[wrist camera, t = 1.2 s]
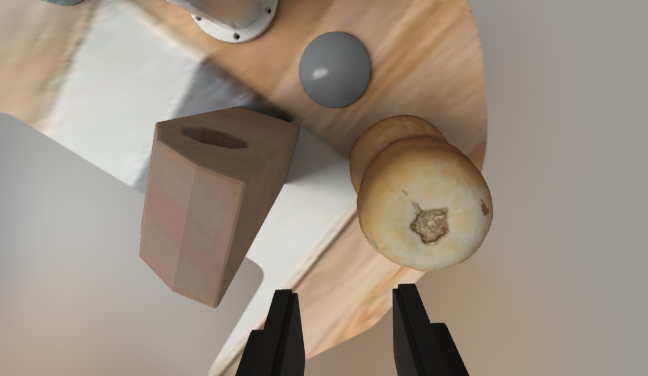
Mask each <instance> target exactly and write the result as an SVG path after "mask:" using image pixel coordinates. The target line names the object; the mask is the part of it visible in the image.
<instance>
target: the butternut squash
mask: <svg viewBox="0 0 648 376" xmlns="http://www.w3.org/2000/svg"><path fill="white" fill-rule="evenodd" d="M349 158H350V176H351V182H352V184H353V187H354V189H355V191H356V193H357V195H358V196H357V209H358V218H359V223H360V227H361V230H362V232H363V234H364V236H365V237H366V239H367V241H368V242H369V244H370V245H371V246H372V248H373V249H374V250H375V251H376V252H378V253H381V254H382V255H383V256H385V257H386V258H387V259H389V260H390V261H392V262H394V263H396V264H398V265H401V266H406V267H409V268H412V269H415V270H419V271H435V270H440V269H444V268H447V267H450V266H453V265H456V264H459V263H462V262H464V261H465V260H467V259H468V258H470V257H471V256H472V255H473V254H474V253H475V252H476V251H477V250H478V248H479V247H480V246H481V244H482V242H483V241H484V239H485V237H486V235H487V233H488V231H489V229H490V226H491V221H492V218H493V207H492V198H491V194H490V191H489V188H488V186H487V183H486V181H485V180H484V178H483V176H482V174H481V173H480V171H479V170H478V169H477V168H476V167H475V166H474V164H473V163H472V162H471V161H470V160H469V159H468V157H467V156H465V155H464V154H463V153H462V152H461V151H460V150H459V149H457V148H456V147H454V146H452V145H451V144H449V143H448V142H447V140H446V138H445V137H444V136H443V134H442V133H441V132H440V131H439V130H438V129H437V128H436V127H435V126H433V125H432V124H430V123H429V122H428V121H426V120H424V119H422V118H419V117H415V116H410V115H399V116H394V117H389V118H386V119H383V120H381V121H379V122H378V123H376V124H375V125H373V126H372V127H370V128H369V129H367V130H366V131H365V132H364V133H363V134H362V135H361V136H360V137H359V138H358V139H357V140H356V142H355V144H354V146H353V148H352V150H351V153H350V157H349Z"/></svg>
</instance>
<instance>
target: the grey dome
mask: <svg viewBox="0 0 648 376" xmlns="http://www.w3.org/2000/svg"><path fill="white" fill-rule="evenodd" d="M299 74H300V80H301V83H302V86H303V88H304V90H305V91H306V93H307V94H308V95H309V97H310V98H311V99H313V100H314V101H315V102H317V103H319V104H321V105H323V106H326V107H332V108H334V107H343V106H346V105H348V104H350V103H352V102H354V101H355V100H356V99H358V98H359V97H360V95H361V94H362V93H363V92H364V90H365V88H366V86H367V84H368V81H369V77H370V61H369V57H368V55H367V52H366V50H365V49H364V47H363V46H362V44H361V43H360V42H359V41H358V40H356V39H355V38H354V37H352V36H350V35H348V34H345V33H341V32H329V33H325V34H322V35H320V36H318V37H317V38H315V39H314V40H313V41H312V42H310V44H309V45H308V46H307V47H306V49H305V50H304V52H303V54H302V57H301V60H300V67H299Z"/></svg>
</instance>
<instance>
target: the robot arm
mask: <svg viewBox="0 0 648 376" xmlns="http://www.w3.org/2000/svg"><path fill="white" fill-rule="evenodd" d="M166 1H168V2H170V3H172V4H174V5H176V6H178V7H180V8H182V9H184V10H186V11H188V12H189V13H190V15H191V16H192V18H193V19H194V21H195V22H196V24H197V25H198V26H199V27H200V28H201V29H202V30H203V31H204V32H206V33H207V34H208V35H210V36H211V37H213V38H215V39H217V40H220V41H222V42H226V43H232V44H238V43H245V42H249V41H251V40H253V39H255V38H257V37H258V36H260V35H261V34H262V33H263V32H264V31H265V30H266V29H267V28H268V27H269V25H270V24H271V22H272V20H273V18H274V16H275V13H276V10H277V6H278V0H166ZM268 10H271V13H270V14H269V13H268ZM200 18H202V19H201V20H200ZM238 35H239V36H240V38H239V39H237V36H238ZM393 343H394V344H393V346H394V359H395V364H396V369H397V373H398V376H469V374H468V372H467V369H466V367H465V366H464V363H463V361H462V359H461V356H460V354H459V352H458V350H457V348H456V345H455V343H454V341H453V339H452V337H451V335H450V332H449V330H448V328H447V326H446V324H444V323H430V320H429V318H428V316H427V313H426V310H425V308H424V306H423V303H422V300H421V298H420V296H419V293H418V290H417V288H416V285H415V284H398V289H393ZM304 368H305V349H304V341H303V333H302V325H301V317H300V309H299V301H298V294H297V293H292V290H291V289H282V290H275V293H274V296H273V299H272V303H271V306H270V309H269V312H268V316H267V319H266V322H265V326H264V329H263V330H252V331H251V333H250V335H249V338H248V341H247V344H246V347H245V349H244V352H243V355H242V358H241V361H240V364H239V366H238V369H237V372H236V375H235V376H304Z"/></svg>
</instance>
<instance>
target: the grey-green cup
mask: <svg viewBox="0 0 648 376" xmlns="http://www.w3.org/2000/svg"><path fill="white" fill-rule="evenodd" d="M42 1H46V2H49V3H54V4H57V5H63V6H69V5H75V4H77V3H79V2H81V1H82V0H42Z"/></svg>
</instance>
